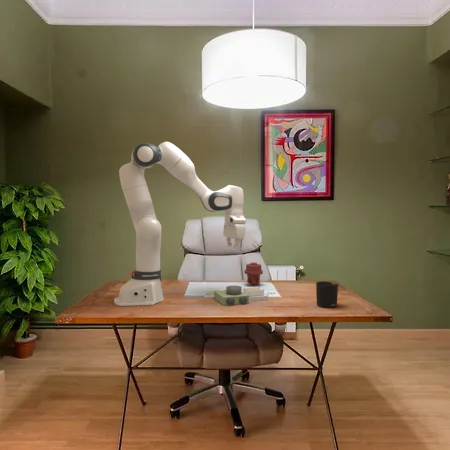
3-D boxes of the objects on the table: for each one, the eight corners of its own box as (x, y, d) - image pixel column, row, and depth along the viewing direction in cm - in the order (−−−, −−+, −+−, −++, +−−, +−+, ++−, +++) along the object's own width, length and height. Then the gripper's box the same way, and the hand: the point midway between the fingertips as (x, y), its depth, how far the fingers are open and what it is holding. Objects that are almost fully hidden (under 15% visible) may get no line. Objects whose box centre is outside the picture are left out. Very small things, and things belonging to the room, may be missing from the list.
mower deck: (224, 306, 179) (224, 291, 179) (214, 298, 194) (214, 284, 193) (271, 302, 187) (271, 288, 186) (257, 294, 201) (257, 281, 201)
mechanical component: (244, 283, 230) (262, 283, 229) (243, 286, 220) (262, 287, 219) (245, 261, 229) (262, 261, 228) (244, 264, 219) (262, 264, 218)
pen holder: (316, 308, 177) (317, 285, 176) (315, 302, 186) (315, 281, 185) (339, 308, 175) (339, 285, 175) (336, 303, 185) (336, 281, 184)
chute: (248, 301, 189) (248, 290, 189) (243, 298, 194) (243, 288, 194) (263, 299, 192) (264, 289, 191) (259, 297, 197) (259, 287, 196)
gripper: (220, 217, 206) (219, 245, 206) (234, 219, 186) (233, 249, 187) (232, 218, 208) (231, 245, 208) (247, 220, 188) (246, 249, 189)
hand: (232, 247), depth 197 cm, fingers open, 8 cm apart
